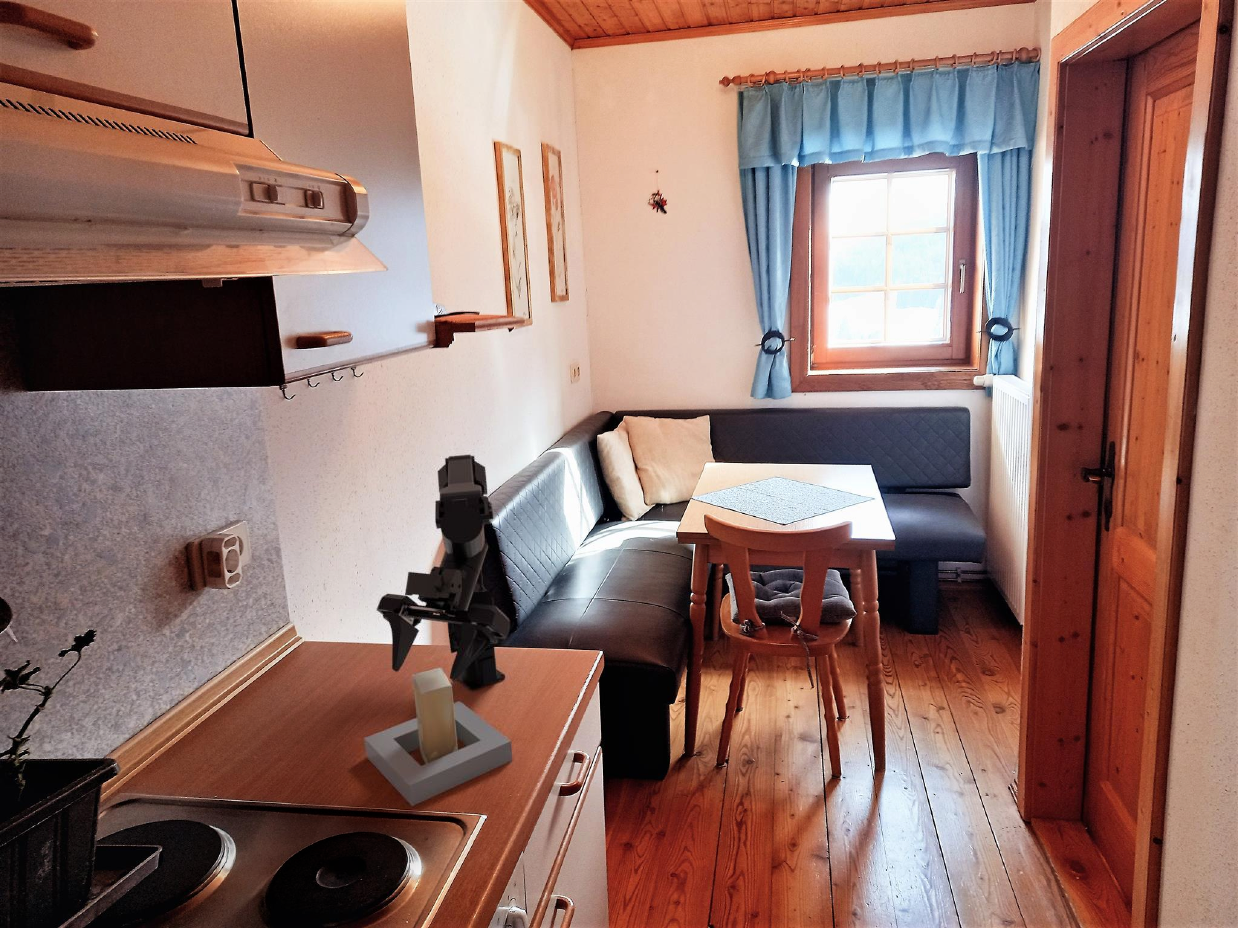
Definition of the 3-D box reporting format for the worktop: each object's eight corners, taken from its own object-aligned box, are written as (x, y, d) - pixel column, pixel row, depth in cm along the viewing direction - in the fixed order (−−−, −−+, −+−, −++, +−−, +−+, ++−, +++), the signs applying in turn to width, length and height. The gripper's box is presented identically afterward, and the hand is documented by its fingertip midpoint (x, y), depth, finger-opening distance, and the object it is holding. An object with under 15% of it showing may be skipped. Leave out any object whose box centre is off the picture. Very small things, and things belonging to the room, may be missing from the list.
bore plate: (366, 756, 118) (364, 737, 118) (461, 718, 127) (459, 700, 127) (412, 806, 107) (409, 785, 106) (512, 760, 116) (510, 740, 115)
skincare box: (419, 751, 119) (410, 672, 116) (449, 742, 121) (441, 665, 118) (429, 774, 114) (420, 692, 111) (460, 765, 115) (452, 684, 113)
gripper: (376, 539, 117) (333, 645, 110) (492, 550, 110) (455, 663, 103) (415, 573, 126) (378, 673, 119) (525, 584, 119) (492, 691, 112)
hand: (423, 674), depth 113 cm, fingers open, 9 cm apart
